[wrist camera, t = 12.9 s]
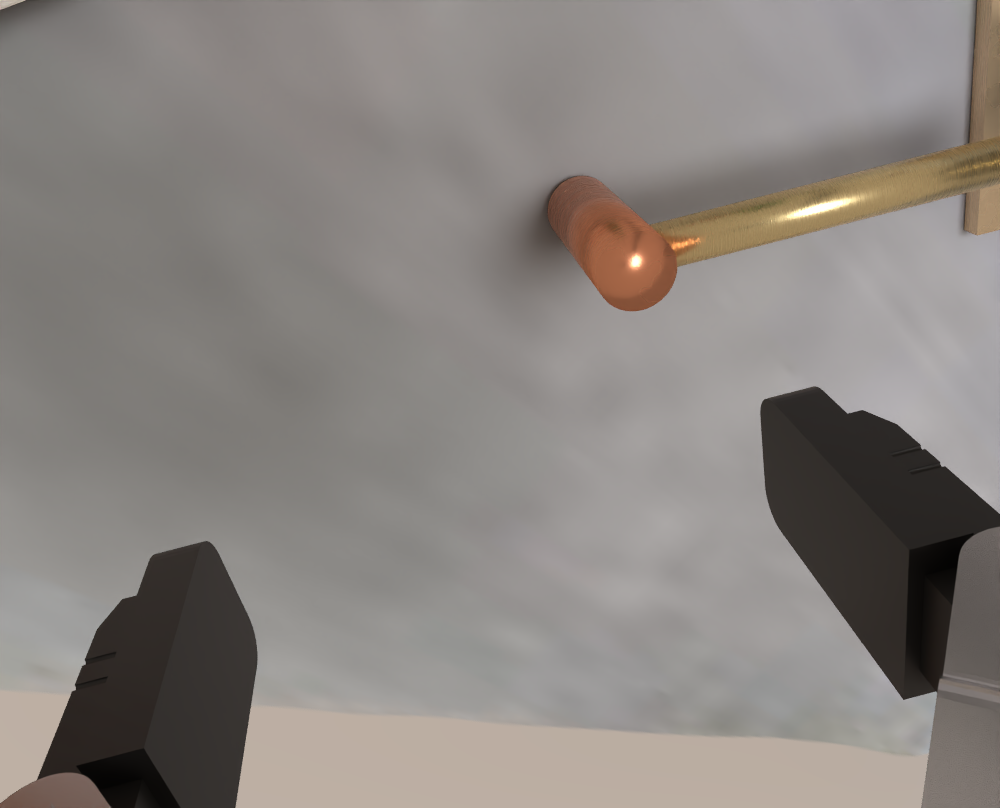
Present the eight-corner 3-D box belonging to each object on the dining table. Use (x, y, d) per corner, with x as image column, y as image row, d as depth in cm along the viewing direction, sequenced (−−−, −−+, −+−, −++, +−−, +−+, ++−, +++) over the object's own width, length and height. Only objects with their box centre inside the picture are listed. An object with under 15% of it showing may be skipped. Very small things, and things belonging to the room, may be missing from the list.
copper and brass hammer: (554, 248, 39) (602, 319, 31) (542, 185, 38) (590, 243, 30) (975, 141, 40) (1128, 184, 32) (979, 74, 38) (1140, 103, 30)
